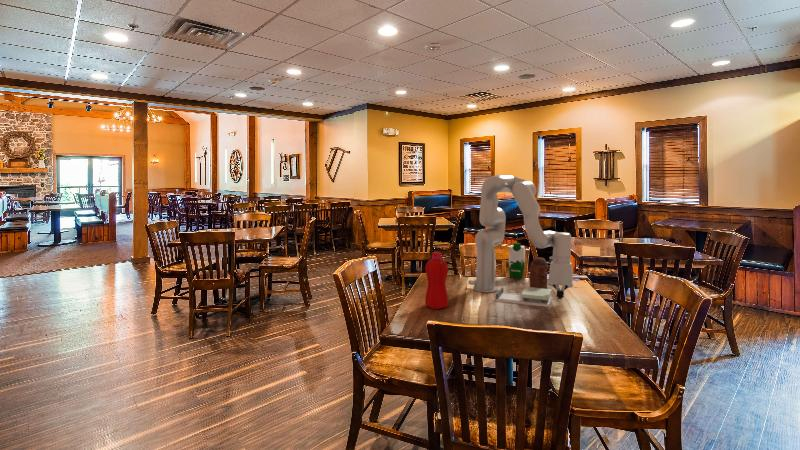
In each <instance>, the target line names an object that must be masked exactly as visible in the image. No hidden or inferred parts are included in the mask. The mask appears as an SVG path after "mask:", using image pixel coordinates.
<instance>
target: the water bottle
mask: <svg viewBox="0 0 800 450" xmlns="http://www.w3.org/2000/svg"><path fill="white" fill-rule="evenodd" d="M442 254H443V253H442V252H440V251H434V252H431V258H430V259H429V260H427V262H426V264H425V267H424V268H425V269H424V270H425V275H426V279H427V288H426V292H425V299H424V301H425V302H424V303H425V306H426V307H428V308H431V310H439V309H446V308H447V307H448V306H449V295H448V292H447V287H446V285H447V284H446V283H447V276H448V273H449V267H448V263H447V261H445V260H444V259H443V258H442Z"/></svg>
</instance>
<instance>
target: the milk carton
mask: <svg viewBox="0 0 800 450" xmlns="http://www.w3.org/2000/svg"><path fill="white" fill-rule="evenodd" d="M508 251H509V254H508V273H509V278H510V279H523V277H524V273H525V272H524V271H525V266H526V265H525V264H526V249H525V245H521V242H513V244H511V245H510V246H509V250H508Z"/></svg>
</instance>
